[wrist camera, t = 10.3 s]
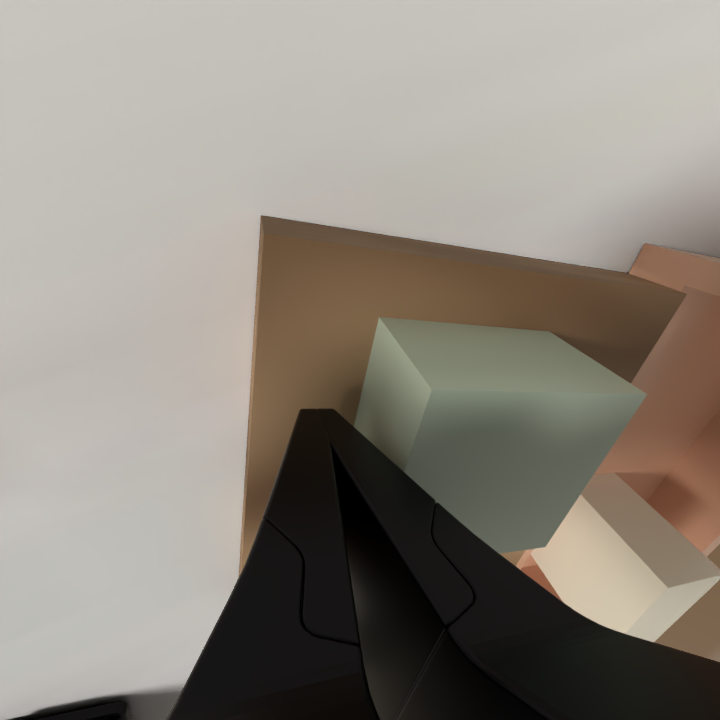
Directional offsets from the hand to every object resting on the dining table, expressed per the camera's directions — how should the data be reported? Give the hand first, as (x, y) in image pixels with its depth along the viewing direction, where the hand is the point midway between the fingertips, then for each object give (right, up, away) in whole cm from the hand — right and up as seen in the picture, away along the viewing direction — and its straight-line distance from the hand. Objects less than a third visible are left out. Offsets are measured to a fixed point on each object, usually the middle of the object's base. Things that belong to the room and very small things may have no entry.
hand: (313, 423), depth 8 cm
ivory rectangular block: (+11, -7, +8) cm, 15 cm away
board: (+3, -2, +6) cm, 7 cm away
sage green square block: (+3, 0, +2) cm, 4 cm away
